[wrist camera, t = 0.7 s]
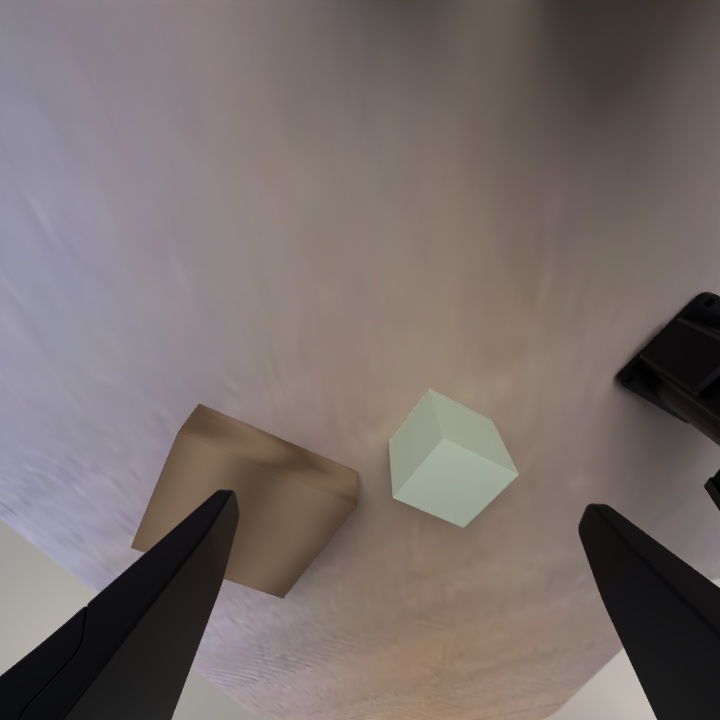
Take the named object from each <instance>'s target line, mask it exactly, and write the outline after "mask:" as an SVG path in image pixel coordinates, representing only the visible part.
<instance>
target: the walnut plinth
mask: <svg viewBox="0 0 720 720" xmlns="http://www.w3.org/2000/svg"><path fill="white" fill-rule="evenodd" d="M357 482H358V472H356V471H354V470H351V469H349V468H347V467H345V466H342V465H340V464H338V463H335V462H333V461H331V460H328V459H326V458H324V457H321V456H319V455H317V454H314V453H312V452H310V451H307V450H305V449H303V448H300V447H298V446H296V445H294V444H291V443H289V442H287V441H284V440H282V439H280V438H277V437H275V436H273V435H270V434H268V433H266V432H263V431H261V430H259V429H256V428H254V427H252V426H249V425H247V424H245V423H242V422H240V421H238V420H236V419H233V418H231V417H229V416H226V415H224V414H222V413H219V412H217V411H215V410H212V409H210V408H208V407H205V406H203V405H201V404H198V406H197V407H196V408H195V410H194V411H193V412H192V414H191V415H190V417H189V418H188V419H187V421H186V422H185V423H184V425H183V426H182V427H181V429H180V430H179V431H178V433H177V436H176V438H175V441H174V443H173V445H172V448H171V450H170V453H169V455H168V458H167V460H166V463H165V465H164V467H163V470H162V472H161V475H160V477H159V480H158V482H157V485H156V487H155V489H154V492H153V494H152V497H151V499H150V502H149V504H148V507H147V509H146V511H145V514H144V516H143V519H142V521H141V524H140V526H139V529H138V531H137V533H136V536H135V538H134V541H133V543H132V546H131V548H133V549H136V550H139V551H142V552H145V553H146V552H147V551H148V550H149V549H151V548H152V547H153V546H154V545H155V544H156V543H157V542H159V541H160V540H161V539H162V538H163V537H164V536H165V535H167V534H168V533H169V532H170V531H171V530H172V529H173V528H175V527H176V526H177V525H178V524H179V523H180V522H181V521H183V520H184V519H185V518H186V517H187V516H188V515H189V514H191V513H192V512H193V511H194V510H195V509H196V508H197V507H199V506H200V505H201V504H202V503H203V502H204V501H205V500H207V499H208V498H209V497H210V496H211V495H212V494H213V493H215V492H216V491H217V490H220V489H227V490H234V491H235V493H236V497H237V502H238V507H239V522H238V526H237V529H236V533H235V537H234V541H233V545H232V548H231V552H230V556H229V560H228V564H227V568H226V571H225V575H224V578H223V579H226V580H229V581H232V582H235V583H238V584H241V585H244V586H247V587H250V588H253V589H256V590H259V591H262V592H265V593H268V594H271V595H274V596H277V597H280V598H284V597H285V596H286V594H287V593H288V592H289V591H290V589H291V588H292V587H293V586H294V584H295V583H296V582H297V581H298V579H299V578H300V577H301V575H302V574H303V573H304V572H305V570H306V569H307V568H308V567H309V565H310V564H311V563H312V562H313V560H314V559H315V558H316V557H317V555H318V554H319V553H320V551H321V550H322V549H323V548H324V546H325V545H326V544H327V543H328V541H329V540H330V539H331V538H332V536H333V535H334V534H335V532H336V531H337V530H338V529H339V527H340V526H341V525H342V524H343V522H344V521H345V520H346V519H347V517H348V516H349V515H350V513H351V512H352V511H353V510H354V508H355V507H356V506H357Z"/></svg>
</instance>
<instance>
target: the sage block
mask: <svg viewBox="0 0 720 720" xmlns="http://www.w3.org/2000/svg"><path fill="white" fill-rule="evenodd" d="M389 454H390V467H391V481H392V494H393V498H394V499H397V500H399V501H401V502H404V503H406V504H408V505H411V506H413V507H415V508H418V509H420V510H422V511H425V512H427V513H429V514H432V515H434V516H437V517H439V518H441V519H444V520H446V521H448V522H451V523H453V524H455V525H458V526H460V527H462V528H464V527H465V526H466V525H468V524H469V523H470V522H471V521H472V520H473V519H474V518H475V517H476V516H477V515H478V514H479V513H480V512H481V511H482V510H483V509H484V508H485V507H486V506H487V505H488V504H489V503H490V502H491V501H492V500H493V499H494V498H495V497H496V496H497V495H498V494H499V493H500V492H502V491H503V490H504V489H505V488H506V487H507V486H508V485H509V484H510V483H511V482H512V481H513V480H514V479H515V478H516V477H517V476H518V475H519V473H518V471H517V469H516V467H515V465H514V463H513V461H512V459H511V457H510V455H509V453H508V451H507V449H506V447H505V445H504V443H503V441H502V439H501V437H500V435H499V433H498V431H497V429H496V427H495V425H494V423H493V421H492V420H491V419H489V418H487V417H485V416H483V415H481V414H479V413H477V412H475V411H473V410H471V409H469V408H467V407H465V406H463V405H461V404H459V403H457V402H455V401H453V400H451V399H449V398H447V397H445V396H443V395H442V394H440V393H438V392H436V391H434V390H432V389H430V388H429V389H428V390H427V392H426V393H425V394H424V396H423V397H422V398H421V400H420V401H419V402H418V404H417V405H416V406H415V408H414V409H413V410H412V412H411V413H410V414H409V415H408V417H407V418H406V419H405V421H404V422H403V423H402V425H401V426H400V427H399V429H398V430H397V431H396V433H395V434H394V435H393V437H392V438H391V439H390V440H389Z"/></svg>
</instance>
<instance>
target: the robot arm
mask: <svg viewBox="0 0 720 720" xmlns="http://www.w3.org/2000/svg"><path fill="white" fill-rule="evenodd" d="M706 300H708V301H707V303H706V304H704V303H705V301H706ZM628 376H629V377H628ZM626 377H628V378H627V379H625V378H626ZM616 379H617V381H618V382H619V383H620V384H621V385H622V386H624V387H626V388H627V389H629V390H631V391H633V392H634V393H636V394H638V395H639V396H641V397H643V398H644V399H646V400H648V401H650V402H651V403H653V404H655V405H656V406H658V407H660V408H661V409H663V410H665V411H667V412H668V413H670V414H672V415H673V416H675V417H677V418H678V419H680V420H682V421H684V422H685V423H690V424H692V425H693V426H694V427H696V428H697V429H698V430H700V431H701V432H702V433H703V434H705V435H706V436H707V437H709V438H710V439H711V440H712V441H714V442H715V443H716V444H718V445H719V446H720V297H719V296H718V295H716V294H713V293H710V292H704V293H701V294H699V295H698V296H697V297H696V298H695V299H694V300H693V301H692V302H691V303H690V304H689V305H688V306H687V307H686V308H685V309H684V310H683V311H681V312H680V313H679V314H678V315H677V316H676V317H675V318H674V319H673V320H672V321H671V322H670V323H669V324H668V325H667V326H666V327H665V328H664V329H663V330H662V331H661V332H660V333H659V334H658V335H657V336H656V337H655V338H654V339H653V340H652V341H651V342H650V343H649V344H648V345H647V346H646V347H645V348H644V349H643V350H642V351H641V352H640V353H639V354H638V355H637V356H636V357H635V358H633V359H632V360H631V361H630V362H629V363H628V364H627V365H626V366H625V367H624V368H623V369H622V370H621V371H620V372H619V373H618V375H617V377H616ZM704 487H705V489H706V490H707V492H708V494H709V495H710V497H711V498H712V500H713V501H714V503H715V504H716V506H717V507H718V509H719V511H720V469H719V470H718V472H717V473H716V474H715V476H714V477H710V478H709V479H708V481H707V482H706V483H705V485H704ZM238 522H239V507H238V502H237V497H236V493H235V491H234V490H227V489H220V490H217V491H216V492H215V493H213V494H212V495H211V496H210V497H209V498H208V499H207V500H205V501H204V502H203V503H202V504H201V505H200V506H199V507H197V508H196V509H195V510H194V511H193V512H192V513H191V514H189V515H188V516H187V517H186V518H185V519H184V520H183V521H181V522H180V523H179V524H178V525H177V526H176V527H175V528H173V529H172V530H171V531H170V532H169V533H168V534H167V535H165V536H164V537H163V538H162V539H161V540H160V541H159V542H157V543H156V544H155V545H154V546H153V547H152V548H151V549H149V550H148V551H147V552H146V553H145V554H144V555H143V556H141V557H140V558H139V559H138V560H137V561H136V562H135V563H133V564H132V565H131V566H130V567H129V568H128V569H127V570H125V571H124V572H123V573H122V574H121V575H120V576H119V577H117V578H116V579H115V580H114V581H113V582H112V583H111V584H109V585H108V586H107V587H106V588H105V589H104V590H103V591H101V592H100V593H99V594H98V595H97V596H96V597H95V598H94V599H92V600H91V601H90V602H89V603H88V605H87V607H83V608H82V609H81V610H80V611H78V612H77V613H76V614H75V615H74V616H73V617H72V618H70V619H69V620H68V621H67V622H66V623H65V624H64V625H62V626H61V627H60V628H59V629H58V630H57V631H55V632H54V633H53V634H52V635H51V636H49V637H48V638H47V639H46V640H45V641H43V642H42V643H41V644H40V645H39V646H38V647H36V648H35V649H34V650H33V651H31V652H30V653H29V654H28V655H27V656H25V657H24V658H23V659H21V660H20V661H19V662H17V663H16V664H15V665H14V666H12V667H11V668H10V669H9V670H7V671H6V672H5V673H4V674H2V675H1V676H0V720H171V719H172V716H173V714H174V711H175V708H176V705H177V703H178V700H179V698H180V695H181V692H182V690H183V687H184V684H185V682H186V679H187V676H188V673H189V671H190V668H191V666H192V663H193V660H194V657H195V655H196V652H197V649H198V647H199V644H200V641H201V639H202V636H203V633H204V631H205V628H206V625H207V623H208V620H209V617H210V615H211V612H212V609H213V607H214V604H215V601H216V599H217V596H218V593H219V591H220V588H221V585H222V582H223V578H224V575H225V571H226V568H227V564H228V560H229V556H230V552H231V548H232V545H233V541H234V537H235V533H236V529H237V526H238ZM578 529H579V535H580V538H581V541H582V544H583V547H584V550H585V553H586V556H587V558H588V561H589V564H590V567H591V570H592V573H593V576H594V578H595V581H596V584H597V587H598V590H599V592H600V595H601V598H602V600H603V602H604V605H605V607H606V609H607V612H608V614H609V616H610V618H611V620H612V622H613V625H614V627H615V629H616V631H617V633H618V636H619V638H620V640H621V642H622V644H623V646H624V649H625V651H626V653H627V655H628V657H629V660H630V662H631V664H632V666H633V668H634V670H635V672H636V675H637V677H638V679H639V681H640V684H641V686H642V688H643V690H644V692H645V694H646V697H647V699H648V701H649V703H650V705H651V707H652V710H653V712H654V714H655V716H656V718H657V720H720V588H719V587H718V586H716V585H715V584H714V583H712V582H711V581H710V580H708V579H707V578H706V577H704V576H703V575H702V574H700V573H699V572H697V571H696V570H695V569H693V568H692V567H691V566H689V565H688V564H687V563H685V562H684V561H683V560H681V559H680V558H679V557H677V556H676V555H675V554H673V553H672V552H671V551H669V550H668V549H666V548H665V547H664V546H662V545H661V544H660V543H658V542H657V541H656V540H654V539H653V538H652V537H650V536H649V535H648V534H646V533H645V532H644V531H642V530H641V529H640V528H638V527H637V526H636V525H634V524H633V523H631V522H630V521H629V520H627V519H626V518H625V517H623V516H622V515H621V514H619V513H618V512H617V511H615V510H614V509H613V508H611V507H610V506H608V505H606V504H592V503H591V504H589V505H587V507H586V509H585V511H584V514H583V516H582V518H581V521H580V523H579V528H578Z"/></svg>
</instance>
